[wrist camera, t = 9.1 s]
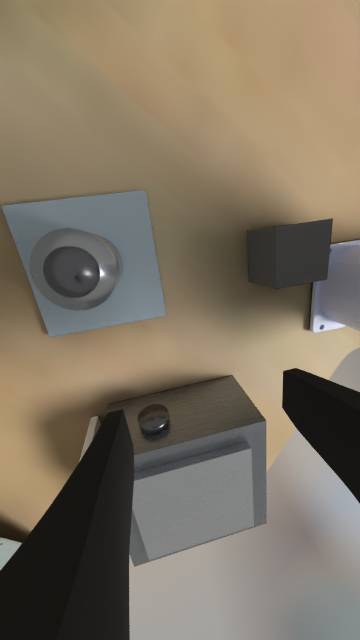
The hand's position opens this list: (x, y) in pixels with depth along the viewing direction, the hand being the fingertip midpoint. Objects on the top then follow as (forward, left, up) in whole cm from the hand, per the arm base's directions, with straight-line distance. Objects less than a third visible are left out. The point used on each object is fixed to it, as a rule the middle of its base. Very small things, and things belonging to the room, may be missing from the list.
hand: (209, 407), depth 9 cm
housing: (+1, +12, -10) cm, 16 cm away
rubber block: (-9, -5, -10) cm, 14 cm away
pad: (+5, -6, -10) cm, 13 cm away
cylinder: (+5, -6, -9) cm, 12 cm away
